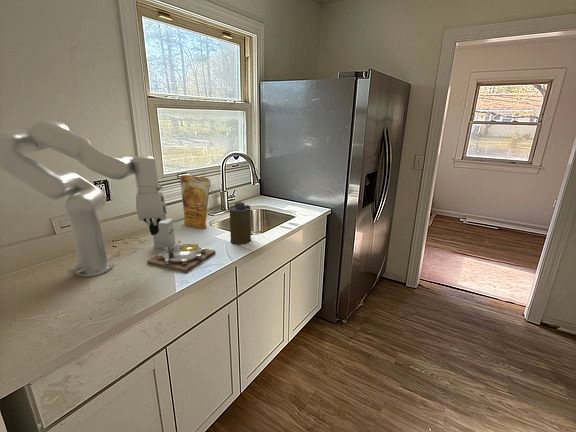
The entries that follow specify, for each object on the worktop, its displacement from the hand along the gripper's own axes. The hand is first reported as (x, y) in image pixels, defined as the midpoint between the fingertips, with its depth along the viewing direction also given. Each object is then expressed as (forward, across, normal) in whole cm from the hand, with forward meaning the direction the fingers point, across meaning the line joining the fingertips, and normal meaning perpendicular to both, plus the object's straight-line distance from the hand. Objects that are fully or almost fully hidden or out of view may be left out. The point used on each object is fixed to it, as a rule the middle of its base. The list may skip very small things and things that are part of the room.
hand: (154, 233), depth 122 cm
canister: (+15, -30, -28) cm, 44 cm away
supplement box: (+14, +5, -21) cm, 26 cm away
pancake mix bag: (+15, -2, -50) cm, 52 cm away
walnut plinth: (+14, -8, -7) cm, 18 cm away
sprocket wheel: (+12, -8, -7) cm, 16 cm away
